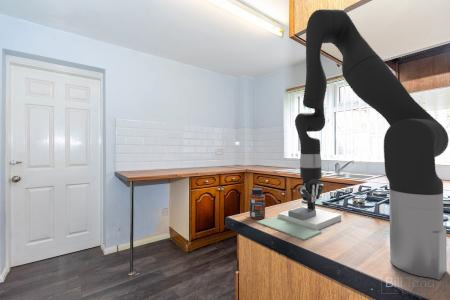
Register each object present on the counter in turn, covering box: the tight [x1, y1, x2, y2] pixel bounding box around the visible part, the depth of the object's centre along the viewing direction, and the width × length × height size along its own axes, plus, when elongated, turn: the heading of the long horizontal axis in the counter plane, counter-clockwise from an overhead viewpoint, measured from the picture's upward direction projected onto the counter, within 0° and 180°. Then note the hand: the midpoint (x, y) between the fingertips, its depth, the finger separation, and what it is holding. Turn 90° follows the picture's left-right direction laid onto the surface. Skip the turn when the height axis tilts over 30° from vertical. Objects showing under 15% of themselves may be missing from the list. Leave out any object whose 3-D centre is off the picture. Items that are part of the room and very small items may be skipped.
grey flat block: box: [287, 206, 316, 221], centre depth 82 cm, size 6×8×2 cm
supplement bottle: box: [249, 187, 266, 220], centre depth 88 cm, size 6×6×11 cm
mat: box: [256, 216, 322, 241], centre depth 77 cm, size 20×9×1 cm, turn 36°
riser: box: [277, 205, 342, 231], centre depth 84 cm, size 16×16×2 cm
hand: (311, 211), depth 85 cm, fingers closed
